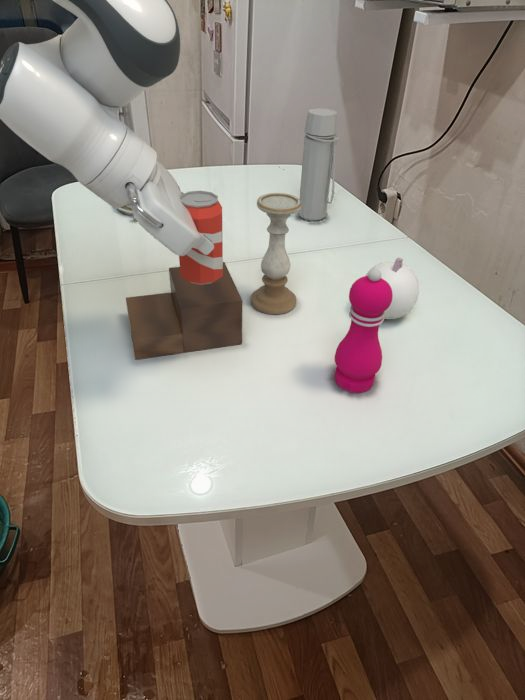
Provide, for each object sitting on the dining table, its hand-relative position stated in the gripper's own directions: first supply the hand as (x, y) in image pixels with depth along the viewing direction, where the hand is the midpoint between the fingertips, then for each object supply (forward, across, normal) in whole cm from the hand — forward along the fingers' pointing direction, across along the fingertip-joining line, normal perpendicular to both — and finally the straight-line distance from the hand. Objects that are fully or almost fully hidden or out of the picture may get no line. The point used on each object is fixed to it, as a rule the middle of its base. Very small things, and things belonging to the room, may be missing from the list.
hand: (204, 236), depth 71 cm
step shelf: (+13, +8, +17) cm, 23 cm away
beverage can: (+4, 0, +5) cm, 7 cm away
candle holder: (+26, +13, +5) cm, 30 cm away
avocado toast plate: (+15, +64, +16) cm, 68 cm away
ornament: (+40, +4, -9) cm, 41 cm away
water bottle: (+42, +48, -11) cm, 65 cm away
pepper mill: (+30, -12, 0) cm, 32 cm away
